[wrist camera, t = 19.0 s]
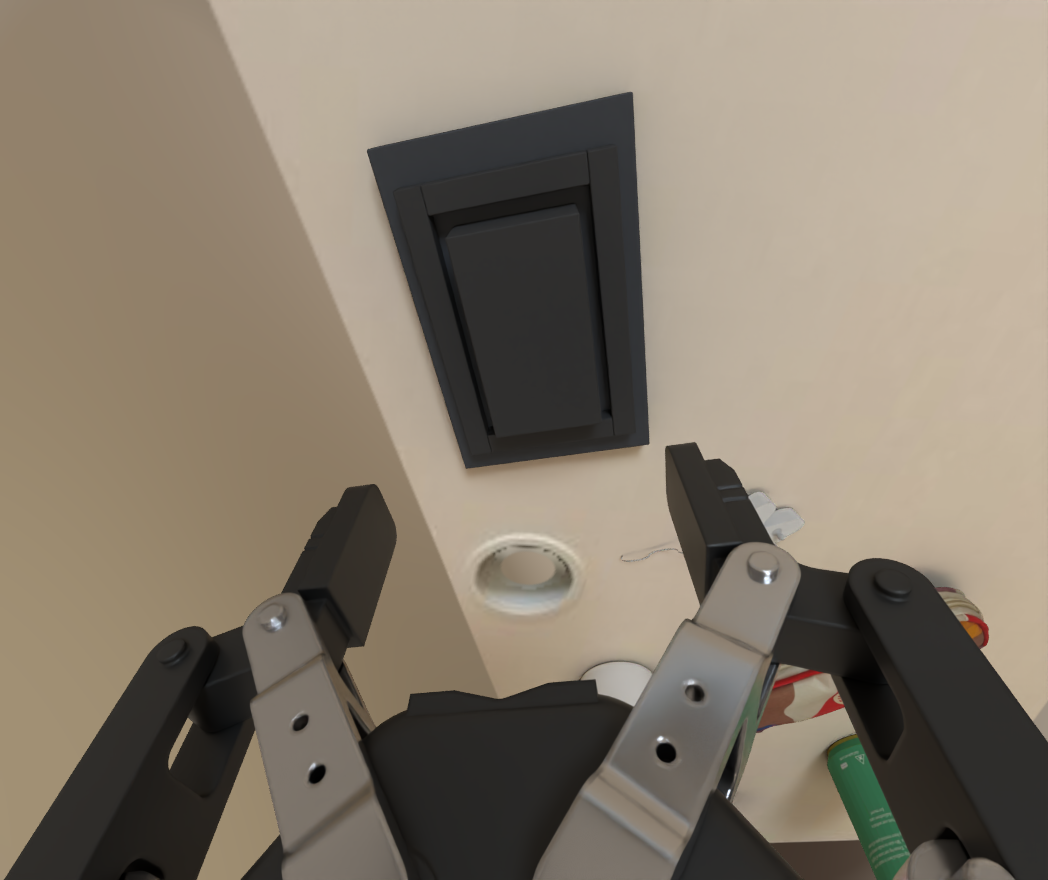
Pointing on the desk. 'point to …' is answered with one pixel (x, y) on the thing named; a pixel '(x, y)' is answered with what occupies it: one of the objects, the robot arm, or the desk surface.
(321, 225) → the desk surface
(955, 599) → the pencil case
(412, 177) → the base pad
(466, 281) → the black pad
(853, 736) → the beverage can
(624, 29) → the desk surface
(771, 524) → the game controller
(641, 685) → the candle
